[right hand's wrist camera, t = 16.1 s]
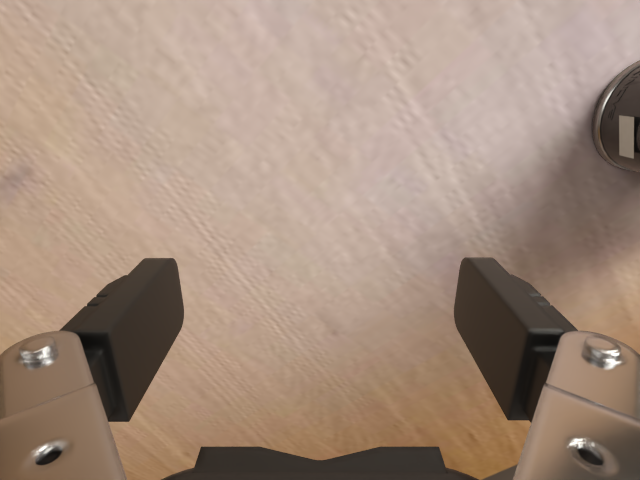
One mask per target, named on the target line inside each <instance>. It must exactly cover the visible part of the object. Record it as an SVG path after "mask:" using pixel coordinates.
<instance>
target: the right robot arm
mask: <svg viewBox="0 0 640 480" xmlns="http://www.w3.org/2000/svg"><path fill="white" fill-rule="evenodd" d="M592 134H593V140H594V144H595V146H596V149H597V151H598V152H599V154H600V155H601V156H602V158H604V159H605V160H606V161H607V162H608V163H610V164H611V165H613V166H616V167H618V168H622V169H625V170H629V171H636V172H640V60H639V61H638V62H636V63H634V64H632V65H631V66H629V67H628V68H626V69H625V70H624V71H622V72H621V73H620V74H619V75H618V76H617V77H616V78H615V79H614V80H613V81H612V82H611V83H610V85H609V86H608V87H607V89H606V90H605V91H604V93H603V95H602V96H601V98H600V100H599V102H598V105H597V107H596V110H595V113H594V117H593V124H592ZM454 318H455V324H456V327H457V329H458V331H459V333H460V335H461V337H462V338H463V340H464V342H465V344H466V346H467V347H468V349H469V351H470V353H471V355H472V356H473V358H474V360H475V362H476V364H477V365H478V367H479V369H480V371H481V373H482V375H483V376H484V378H485V380H486V382H487V384H488V385H489V387H490V389H491V391H492V393H493V394H494V396H495V398H496V400H497V402H498V403H499V405H500V407H501V409H502V411H503V412H504V414H505V416H506V418H507V420H530V422H531V426H530V429H529V432H528V435H527V438H526V441H525V444H524V447H523V450H522V453H521V456H520V460H519V463H518V466H517V469H516V472H515V475H514V478H513V480H640V355H639V354H638V353H637V352H636V351H635V350H633V349H632V348H631V347H629V346H627V345H626V344H624V343H622V342H620V341H618V340H616V339H614V338H611V337H608V336H605V335H602V334H598V333H594V332H588V331H578V330H577V329H576V328H575V327H574V326H573V325H572V324H571V323H570V322H569V321H568V320H567V319H566V318H565V317H564V316H563V315H562V314H561V313H560V312H558V311H557V310H556V309H555V308H554V307H553V306H552V305H550V303H549V302H548V301H547V300H546V299H545V298H544V297H543V296H541V294H540V293H539V292H538V291H537V290H536V289H535V288H534V287H533V286H532V285H530V284H529V283H527V282H525V281H524V280H522V279H520V278H518V277H516V276H514V275H510V274H509V273H508V272H507V271H506V270H505V269H504V268H503V267H502V266H501V265H500V264H499V263H498V262H497V261H496V260H495V259H494V258H464V259H463V260H462V262H461V265H460V271H459V278H458V285H457V292H456V298H455V305H454ZM183 319H184V306H183V299H182V293H181V286H180V279H179V273H178V267H177V263H176V261H175V260H174V259H173V258H145V259H143V260H142V261H141V262H140V263H139V264H138V265H137V266H136V267H135V268H134V269H133V270H132V271H131V272H130V273H129V274H128V275H125V276H123V277H121V278H119V279H117V280H115V281H113V282H111V283H109V284H108V285H107V286H106V287H104V288H103V289H102V290H101V291H100V292H99V293H98V294H97V297H94V298H93V299H92V300H91V301H90V302H89V303H88V304H87V306H85V307H84V308H82V309H81V310H80V311H79V312H78V313H77V314H76V315H75V316H74V317H73V318H72V319H71V320H70V321H69V322H68V323H67V324H66V325H65V326H64V327H63V328H62V329H60V330H59V331H52V332H46V333H42V334H38V335H35V336H32V337H29V338H26V339H24V340H22V341H20V342H18V343H16V344H14V345H13V346H11V347H9V348H8V349H7V350H5V351H4V352H3V353H2V354H1V355H0V480H127V478H126V475H125V472H124V469H123V466H122V463H121V460H120V456H119V453H118V450H117V447H116V444H115V441H114V438H113V435H112V432H111V429H110V426H109V423H108V422H129V421H130V419H131V417H132V415H133V414H134V412H135V410H136V408H137V407H138V405H139V403H140V401H141V399H142V398H143V396H144V394H145V392H146V391H147V389H148V387H149V385H150V383H151V382H152V380H153V378H154V376H155V375H156V373H157V371H158V369H159V367H160V366H161V364H162V362H163V360H164V358H165V357H166V355H167V353H168V351H169V350H170V348H171V346H172V344H173V342H174V341H175V339H176V337H177V335H178V334H179V332H180V330H181V328H182V324H183ZM162 480H478V479H476V478H474V477H472V476H470V475H467V474H464V473H461V472H459V471H456V470H452V469H449V468H446V467H445V464H444V461H443V458H442V455H441V452H440V449H439V447H378V448H373V449H369V450H365V451H361V452H357V453H353V454H348V455H344V456H340V457H336V458H332V459H328V460H312V459H308V458H304V457H300V456H296V455H292V454H287V453H283V452H279V451H275V450H271V449H267V448H262V447H201V449H200V452H199V455H198V458H197V461H196V464H195V467H194V468H192V469H188V470H184V471H181V472H179V473H176V474H173V475H170V476H168V477H166V478H164V479H162Z"/></svg>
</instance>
